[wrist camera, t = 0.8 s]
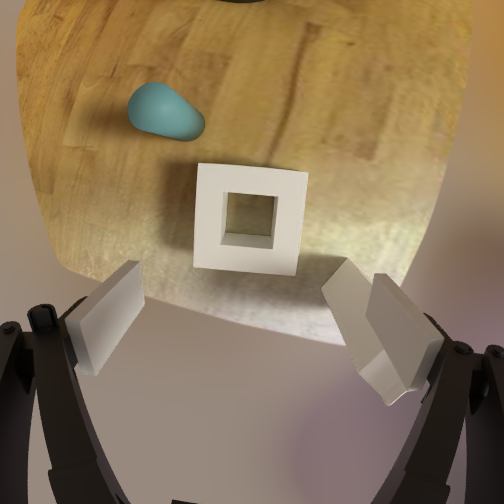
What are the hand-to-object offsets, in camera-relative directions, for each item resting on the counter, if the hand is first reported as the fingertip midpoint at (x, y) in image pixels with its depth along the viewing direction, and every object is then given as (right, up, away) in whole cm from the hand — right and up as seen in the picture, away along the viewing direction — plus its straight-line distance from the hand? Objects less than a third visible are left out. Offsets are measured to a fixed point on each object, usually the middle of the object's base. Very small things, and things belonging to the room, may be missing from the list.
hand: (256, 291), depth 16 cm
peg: (-8, +19, +19) cm, 28 cm away
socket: (0, +7, +22) cm, 24 cm away
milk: (+14, -3, +25) cm, 29 cm away
